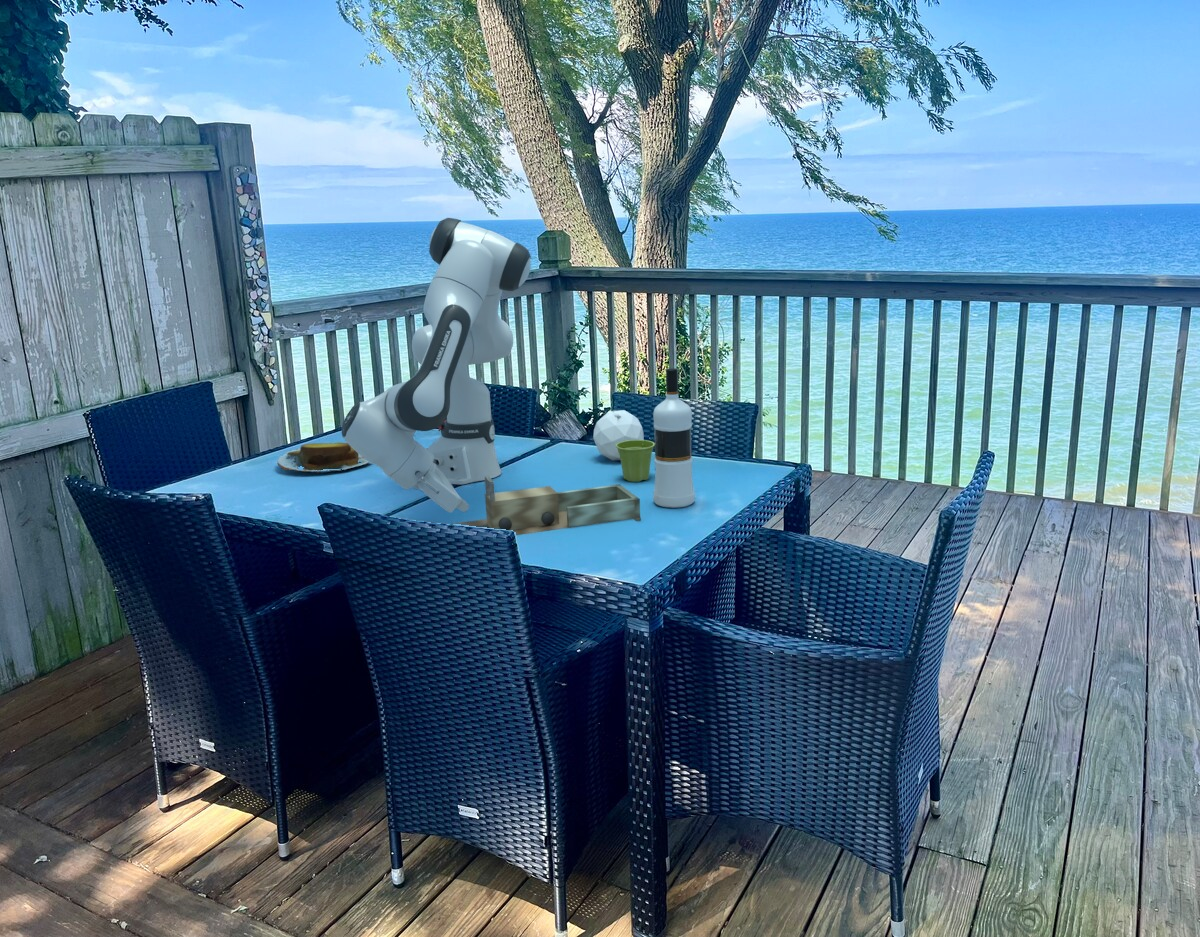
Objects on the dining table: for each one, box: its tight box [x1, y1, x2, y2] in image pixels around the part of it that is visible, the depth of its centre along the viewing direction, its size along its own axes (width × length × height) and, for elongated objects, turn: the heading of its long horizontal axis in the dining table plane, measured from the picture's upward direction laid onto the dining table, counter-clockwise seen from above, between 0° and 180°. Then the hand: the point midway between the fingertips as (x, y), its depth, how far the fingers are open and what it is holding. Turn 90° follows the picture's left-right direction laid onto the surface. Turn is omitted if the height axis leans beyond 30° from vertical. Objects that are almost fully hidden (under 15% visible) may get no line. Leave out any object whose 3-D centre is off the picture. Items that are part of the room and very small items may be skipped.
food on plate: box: [276, 442, 370, 473], centre depth 252 cm, size 26×26×7 cm
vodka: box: [652, 367, 696, 509], centre depth 202 cm, size 9×9×30 cm
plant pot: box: [616, 439, 655, 483], centre depth 225 cm, size 9×9×9 cm
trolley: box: [484, 476, 559, 530], centre depth 192 cm, size 14×8×10 cm, turn 109°
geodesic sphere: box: [592, 409, 645, 462], centre depth 243 cm, size 14×14×14 cm
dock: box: [453, 483, 642, 536], centre depth 194 cm, size 38×13×5 cm, turn 109°
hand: (466, 508), depth 188 cm, fingers closed
